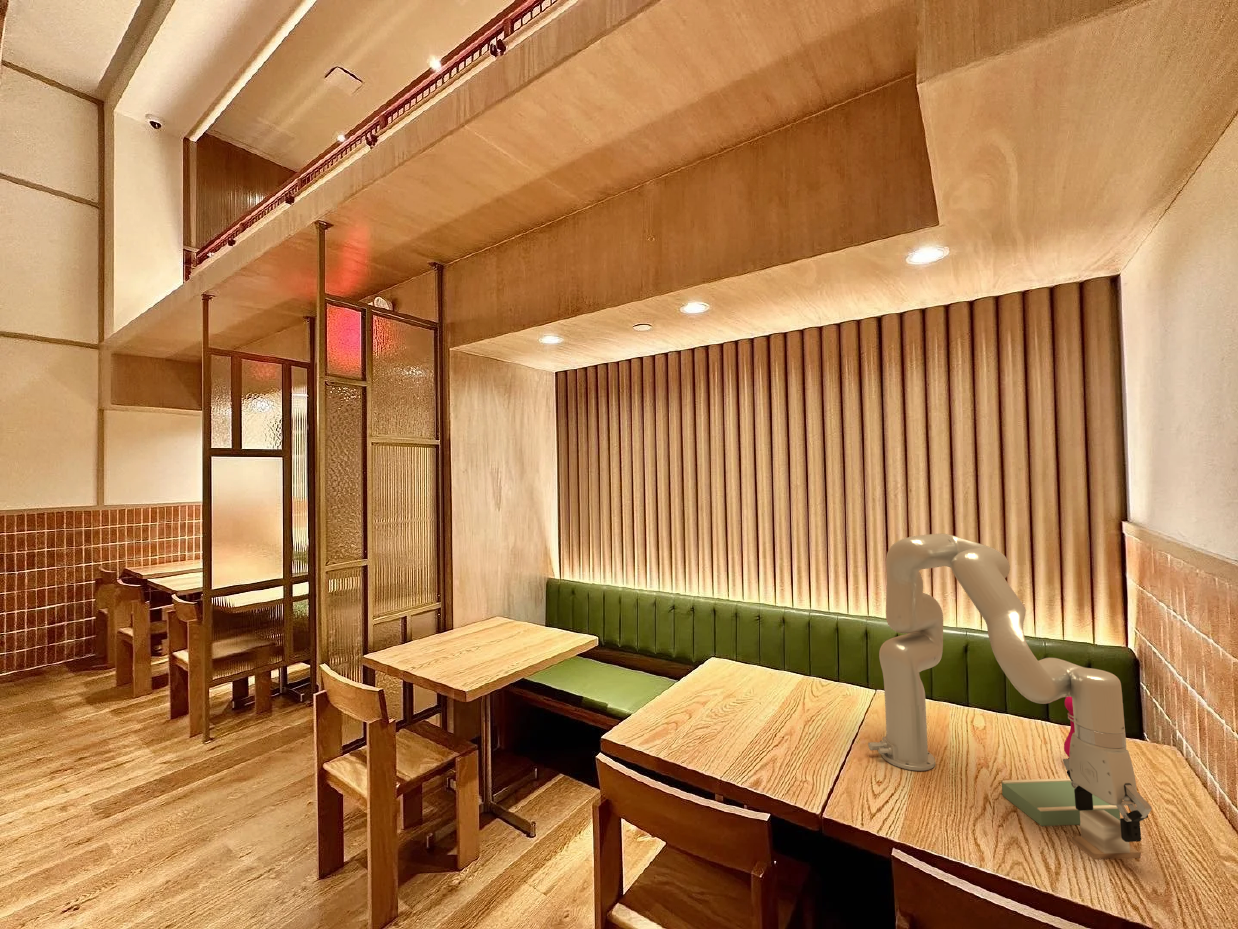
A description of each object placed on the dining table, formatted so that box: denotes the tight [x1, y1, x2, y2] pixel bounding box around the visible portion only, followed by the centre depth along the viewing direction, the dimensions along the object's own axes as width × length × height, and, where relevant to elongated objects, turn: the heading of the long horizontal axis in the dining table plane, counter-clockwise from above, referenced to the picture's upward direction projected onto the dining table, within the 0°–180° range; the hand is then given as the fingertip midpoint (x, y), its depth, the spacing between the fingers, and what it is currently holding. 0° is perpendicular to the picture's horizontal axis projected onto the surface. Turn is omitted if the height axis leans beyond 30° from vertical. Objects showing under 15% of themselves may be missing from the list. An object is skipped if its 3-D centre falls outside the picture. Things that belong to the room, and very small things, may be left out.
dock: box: [1001, 777, 1121, 827], centre depth 117 cm, size 17×11×3 cm, turn 91°
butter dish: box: [1070, 810, 1141, 860], centre depth 104 cm, size 9×5×6 cm, turn 91°
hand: (1106, 824), depth 103 cm, fingers open, 9 cm apart
